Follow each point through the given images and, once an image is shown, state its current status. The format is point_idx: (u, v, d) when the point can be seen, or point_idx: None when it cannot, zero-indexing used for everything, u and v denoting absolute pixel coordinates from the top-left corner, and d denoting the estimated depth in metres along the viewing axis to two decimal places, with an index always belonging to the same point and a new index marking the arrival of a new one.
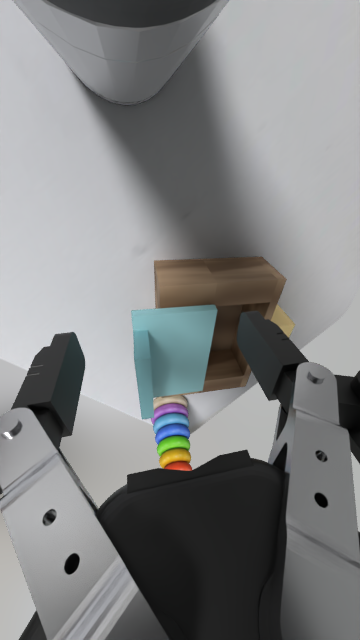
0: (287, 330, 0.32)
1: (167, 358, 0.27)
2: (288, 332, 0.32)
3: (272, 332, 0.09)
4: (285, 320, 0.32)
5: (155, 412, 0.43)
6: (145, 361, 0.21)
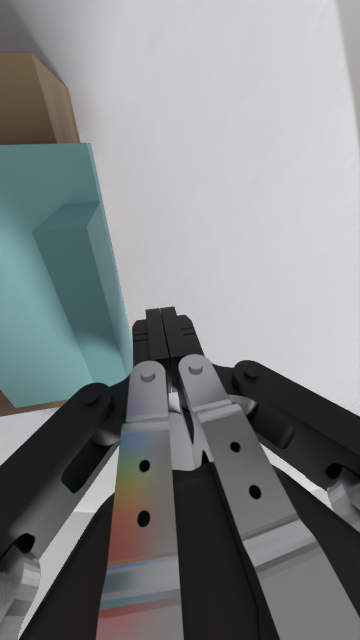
0: None
1: (59, 324, 0.13)
2: None
3: (177, 326, 0.10)
4: None
5: None
6: None
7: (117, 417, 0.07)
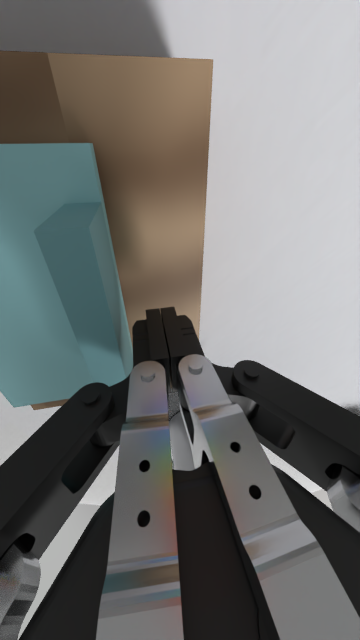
0: None
1: (59, 323, 0.13)
2: None
3: (177, 326, 0.10)
4: None
5: None
6: None
7: (117, 417, 0.07)
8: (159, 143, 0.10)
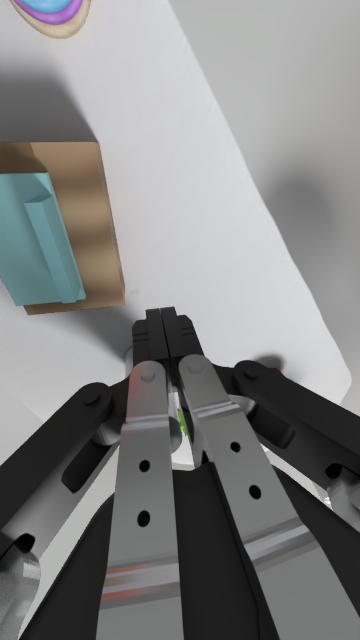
0: None
1: (38, 253, 0.27)
2: None
3: (177, 326, 0.10)
4: None
5: (81, 1, 0.20)
6: (65, 300, 0.27)
7: (117, 417, 0.07)
8: (77, 171, 0.24)
